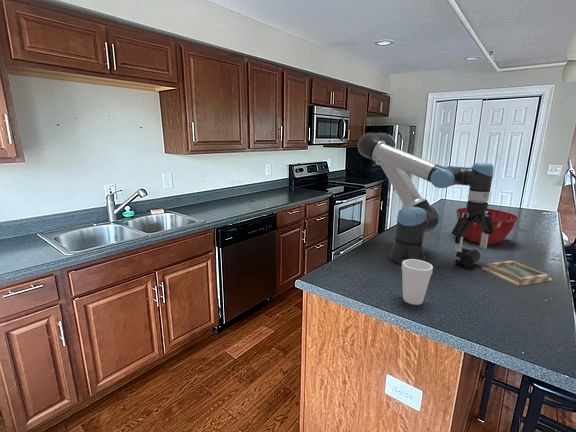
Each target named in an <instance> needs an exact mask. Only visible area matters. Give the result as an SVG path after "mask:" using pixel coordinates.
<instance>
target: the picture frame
mask: <svg viewBox="0 0 576 432" xmlns="http://www.w3.org/2000/svg"><path fill="white" fill-rule="evenodd" d="M481 270H482V271H485V272H487V273H489V274H491V275H492V276H495V277H497V278H499V279H502V280H504V281H506V282H508V283H510V284H512V285H514V286H517V287H519V286H528V285H532V284H533V285H535V284H541V283H547V282H552V281H553V278H551V277H550V275H549V274H547V273H546V272H542V271H540V270H538V269H535V268H532V267H530V266H527V265H525V264H522V263H519V262H518V261H515V260H506V261H499V262H497V261H496V262H489V263H486V265H485V267H481Z"/></svg>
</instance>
